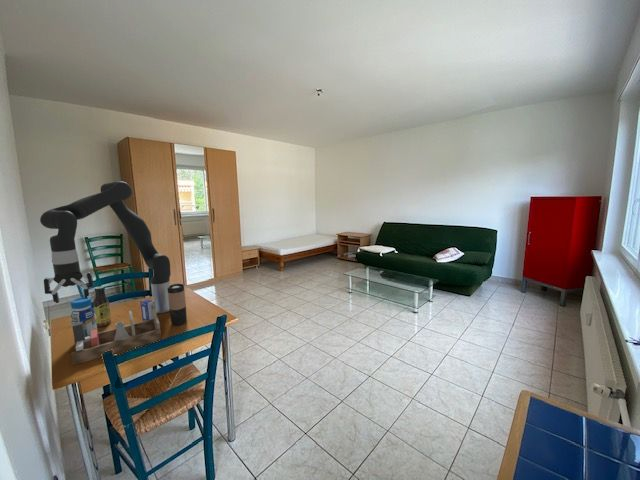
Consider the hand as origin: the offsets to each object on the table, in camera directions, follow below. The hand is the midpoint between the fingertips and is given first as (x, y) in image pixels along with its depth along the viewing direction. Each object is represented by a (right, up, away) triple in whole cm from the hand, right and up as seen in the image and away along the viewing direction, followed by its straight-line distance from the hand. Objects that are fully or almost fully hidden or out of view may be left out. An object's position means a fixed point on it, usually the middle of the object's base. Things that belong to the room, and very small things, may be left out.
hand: (72, 299), depth 108 cm
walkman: (+11, -19, +32) cm, 39 cm away
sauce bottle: (-11, -20, +30) cm, 38 cm away
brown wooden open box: (+11, -23, +12) cm, 28 cm away
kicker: (+2, -23, +5) cm, 24 cm away
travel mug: (+27, -19, +32) cm, 46 cm away
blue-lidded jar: (-7, -22, +15) cm, 28 cm away
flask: (+11, -23, +12) cm, 28 cm away
